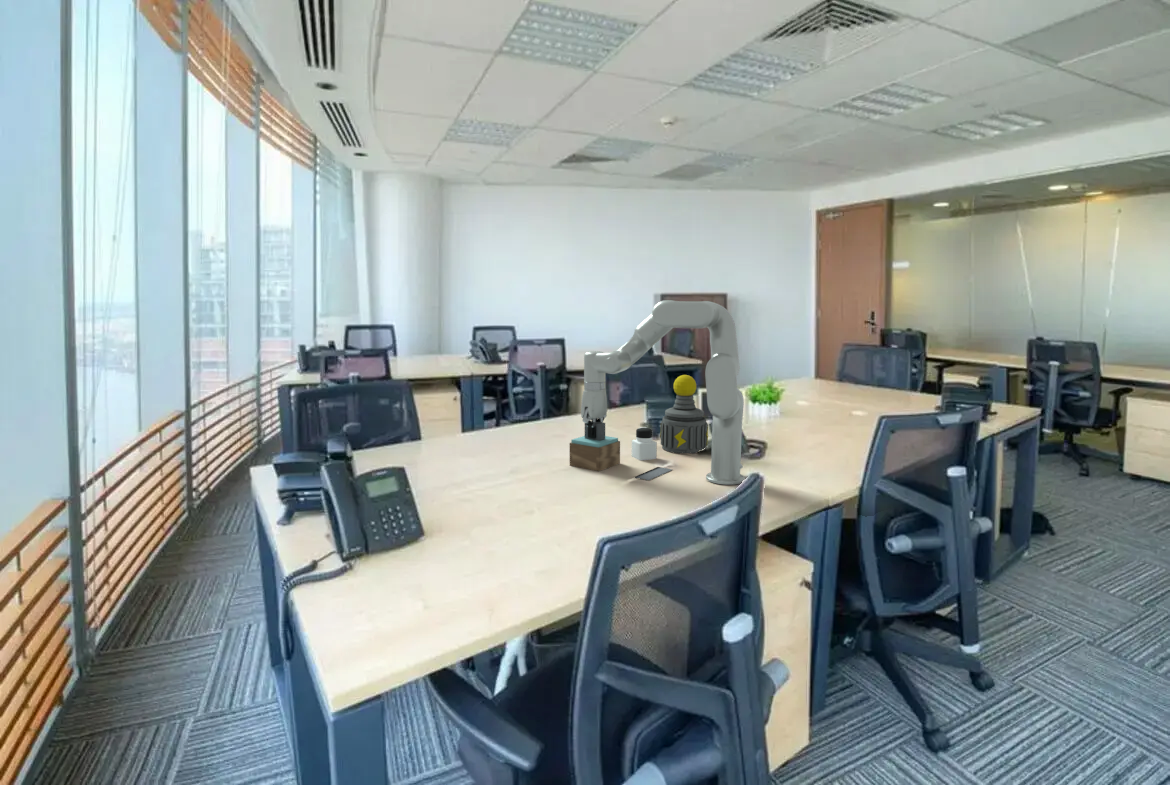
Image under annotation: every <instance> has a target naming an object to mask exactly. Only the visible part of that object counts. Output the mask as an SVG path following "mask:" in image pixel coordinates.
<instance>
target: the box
mask: <svg viewBox="0 0 1170 785" xmlns="http://www.w3.org/2000/svg"><path fill="white" fill-rule="evenodd" d="M619 464H621V440H618V441H617V442H614V443H611V444H608V445H605V446H602V447H599V448H598V447H592V446H586V445H581V444H575V443H571V442H569V466H571V467H576V468H581V469H586V470H591V471H596V472H601V471H603V470H606V469H609V468H612V467H614V466H616V465H619Z"/></svg>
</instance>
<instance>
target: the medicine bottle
mask: <svg viewBox="0 0 1170 785" xmlns="http://www.w3.org/2000/svg"><path fill="white" fill-rule="evenodd" d="M635 438H636V439H632V440H631V457H632V458H634V459H636V460H638V461H650V460H656V459H657V456H658V455H657V454H658V452H657V450H658V448H657V447H658V446H657V445H658V444H657V441H654V440H653V429H652V428H651V427H646V426H644V427H643V426H642V427H639V428H636V430H635Z"/></svg>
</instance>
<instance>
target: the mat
mask: <svg viewBox="0 0 1170 785" xmlns="http://www.w3.org/2000/svg"><path fill="white" fill-rule="evenodd" d="M671 471H673V469H672V468H667V467H661V466H657V467H654V468H652V469H649V470H646V471H645V472H642V473H640V474H638V475H635V476H634V477H635V478H634V479H637V478H640V479H639V480H642V479H645V480H644V481H647V480H649V481H651V479H652V480H654V479H656V478H658V477H661V476H662V474H663V475H665V474H667V473H669V472H671ZM660 475H661V476H660ZM657 476H658V477H657ZM655 477H656V478H655ZM653 478H654V479H653Z"/></svg>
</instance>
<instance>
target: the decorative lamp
mask: <svg viewBox="0 0 1170 785" xmlns="http://www.w3.org/2000/svg"><path fill="white" fill-rule="evenodd" d="M696 390H697V383H696V380H695V379H694V378H693V376H690V375H687V374H682V375H679V376H677V378H675V379H674V382H673V391H674V393H675V394H676V396H675V397H676V398H675V399H674V404H673V406H672V407H669V408H666V409H665V411H664V416H662V420H661V421H660V434H659V438H660V445H661V448H662V450H664V451H665V450H666V452H668V451H669V453H673V452H674V454H680V453H692V454H697V453H696V452H698V451H699V450H702V449H704V448H705V447H706V448H707V446H708V439H709V424H708V422H707V418H706V417H705V411H704V410H702V409H701V408H699V407H698V408H697V407H696V404H695V400H694V396H693V395H694V394H695V393H696Z"/></svg>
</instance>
